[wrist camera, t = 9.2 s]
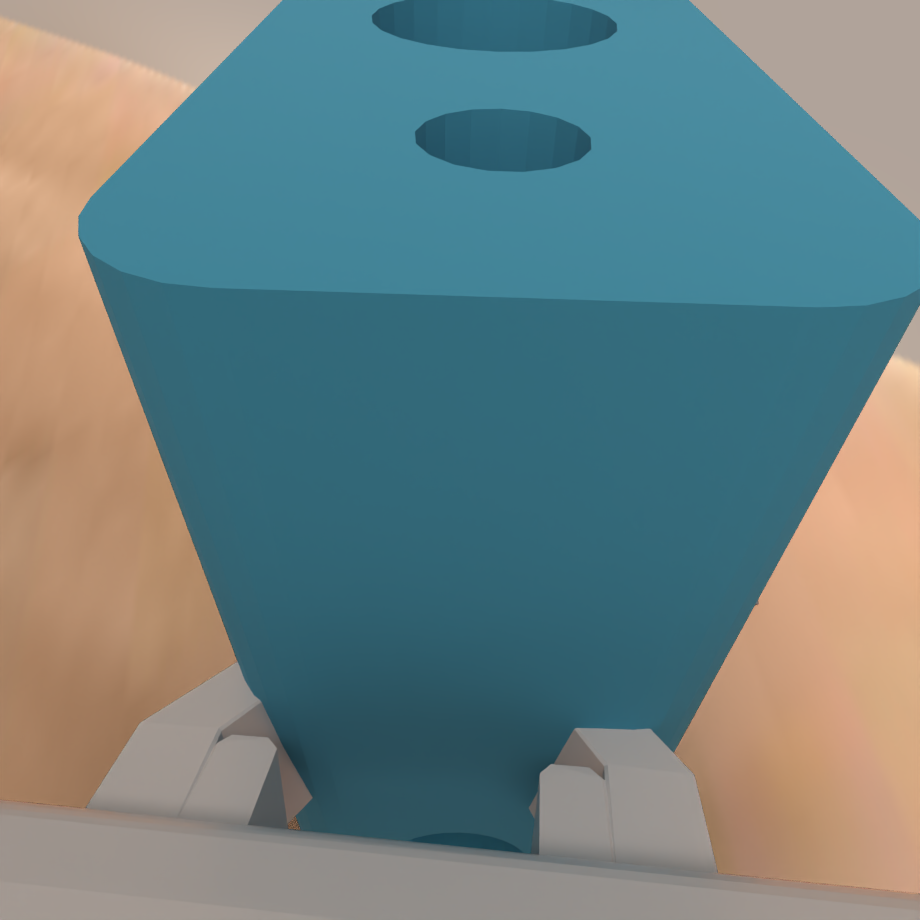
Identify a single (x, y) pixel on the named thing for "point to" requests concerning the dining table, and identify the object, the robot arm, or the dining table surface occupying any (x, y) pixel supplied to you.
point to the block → (491, 375)
